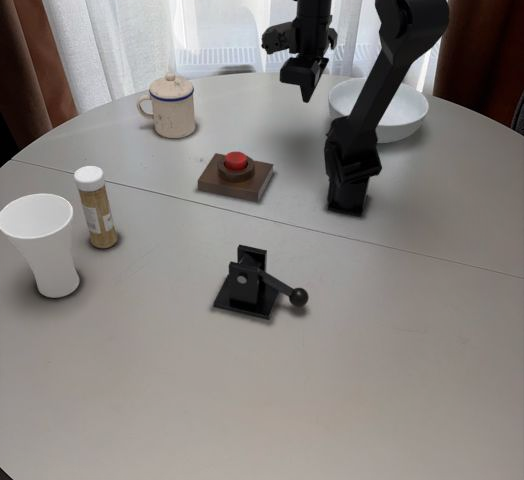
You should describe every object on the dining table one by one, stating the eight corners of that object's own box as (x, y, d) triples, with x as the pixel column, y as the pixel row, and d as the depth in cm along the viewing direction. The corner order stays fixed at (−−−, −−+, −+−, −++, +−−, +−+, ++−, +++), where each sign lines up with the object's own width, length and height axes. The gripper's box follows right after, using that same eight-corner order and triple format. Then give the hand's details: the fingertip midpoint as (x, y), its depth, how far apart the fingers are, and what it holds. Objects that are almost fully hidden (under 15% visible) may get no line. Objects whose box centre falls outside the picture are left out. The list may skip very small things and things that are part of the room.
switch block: (273, 173, 115) (273, 155, 111) (258, 202, 108) (258, 184, 105) (215, 162, 117) (215, 144, 113) (198, 190, 110) (196, 172, 107)
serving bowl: (429, 157, 119) (437, 126, 114) (327, 154, 119) (331, 123, 114) (413, 107, 133) (420, 77, 128) (322, 104, 133) (325, 74, 127)
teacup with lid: (196, 117, 128) (192, 63, 119) (196, 139, 122) (192, 84, 113) (141, 118, 127) (133, 64, 118) (139, 140, 121) (130, 85, 112)
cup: (20, 271, 95) (-8, 202, 84) (84, 255, 98) (65, 187, 87) (30, 314, 89) (2, 245, 78) (98, 296, 92) (80, 227, 81)
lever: (304, 301, 90) (314, 290, 88) (299, 314, 89) (309, 303, 86) (239, 261, 88) (247, 249, 86) (232, 274, 86) (240, 262, 84)
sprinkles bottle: (122, 243, 100) (107, 175, 90) (97, 252, 98) (80, 184, 88) (111, 229, 102) (96, 161, 92) (86, 237, 101) (68, 169, 90)
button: (249, 161, 111) (249, 153, 109) (242, 173, 108) (242, 164, 107) (229, 158, 111) (229, 149, 110) (222, 169, 109) (222, 160, 107)
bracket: (281, 291, 93) (283, 249, 86) (268, 321, 89) (270, 279, 82) (228, 279, 95) (226, 236, 88) (213, 308, 90) (211, 266, 84)
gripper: (282, -14, 104) (278, 73, 116) (250, 25, 93) (250, 118, 105) (343, -6, 102) (332, 82, 114) (318, 35, 91) (310, 129, 103)
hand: (306, 101), depth 109 cm, fingers closed
